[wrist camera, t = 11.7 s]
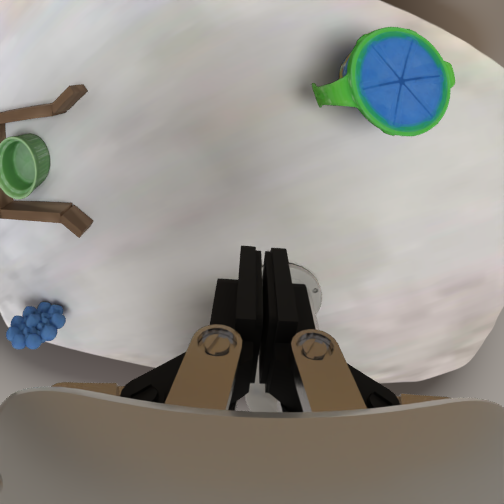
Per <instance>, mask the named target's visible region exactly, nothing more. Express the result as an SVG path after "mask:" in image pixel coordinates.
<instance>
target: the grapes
mask: <svg viewBox="0 0 504 504" xmlns="http://www.w3.org/2000/svg"><path fill="white" fill-rule="evenodd" d="M62 314H63V308H62V307H61V306H60V305H56V304H55V305H51V304H50V303H48V302H41V303H40V304H39V306H38V307H37V309H36V308H35V307H32V306H27V307H26V308H25V309H24V311H23V317H22V316H14V317H13V319H12V321H11V327H9V329H8V330H7V333H6V337H7V339H8V340H9V341H12V345H13V347H14V348H15V349H23V348H25V346H26V347H28V348H29V349H37V348H38V347H39V346H40V345H41V343H44V342H45V341H51V340H53V339H54V338H55V337H56V335H57V329H60V328H62V327H63V326H64V324H65V321H66V318H65V316H64V315H62Z"/></svg>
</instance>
